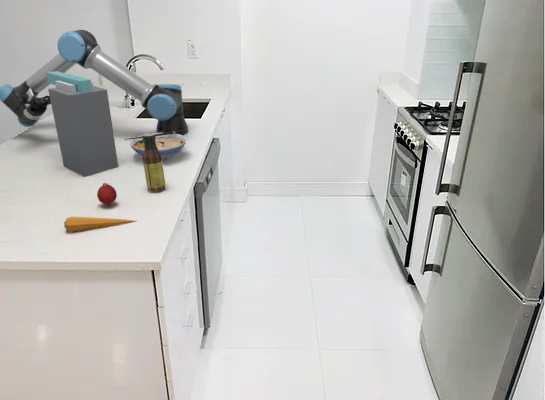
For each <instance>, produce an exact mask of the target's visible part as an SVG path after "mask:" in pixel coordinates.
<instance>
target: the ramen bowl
mask: <svg viewBox="0 0 545 400" xmlns="http://www.w3.org/2000/svg"><path fill="white" fill-rule="evenodd" d="M153 133H154V134H155V137H156V138H155V141H156V146H157V148H158V151H159V153H160V155H161V157H162V161H164V159H165V160H167V158H168V159H169V158H172V157H175V156H176V155H178V154H179V153H180V152H181V151H182V149H183V148H184V147H185V145H186V144H187V138H186V136H184V135H180V134H177V133H184V131H183V130H179V131H172V132H166V133H157V132H153ZM123 139H124V141H126V140H127V141H128V140H129V145H130V147H131V148H132V150H133V151H134V152H135V153H137V154H138V155H139V156H141V157H143V152H144V149H145V147H144V146H145V145H144V140H143V134H142V135H138V136H136V137H131V138H123Z"/></svg>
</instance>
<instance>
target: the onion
mask: <svg viewBox="0 0 545 400" xmlns="http://www.w3.org/2000/svg"><path fill="white" fill-rule="evenodd" d="M96 195H97V199H98V201H99V202H100V203H102V204H104V205H105V206H107V207H108V206H111V205H112V204H113V203H114V202H115V201H116V199H117V197H118V195H117V190H116V188H115V187H113V186H112V185H111V184H109V183H108V182H103V183H102V185H101V186H100V187H99V188H98V190H97V193H96Z"/></svg>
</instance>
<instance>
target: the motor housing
mask: <svg viewBox="0 0 545 400" xmlns="http://www.w3.org/2000/svg"><path fill="white" fill-rule="evenodd" d="M91 85H92V91H91V92H84V93H81V92H77V91H76V88H75V85H74V84H70V83H66V82H63V81H55V85H54V86H55V87H52V88H48V96H50V101H51V104H50V105H51V110H52V114H53V118H54V119H53V120H54V124H55V125H54V126H55V130H56V134H57V138H58V144H59V149H60V154H61V158H62V164H63V167H65V169H67V170H70V171H72V172H74V173H76V174H77V175H79V176H81V177H84V178H86V177H89V176H94V175H96V174H101V173H104V172H106V171H109V170H113V169H116V168H117V169H118V168H119V163H118V155H117V150H116V142H115V141H116V140H115V136H114V135H115V134H114V129H113V122H112V115H111V108H110V101H109V94H108V90H107V88H102V87H99V86H94V82H92V81H91Z"/></svg>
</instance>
